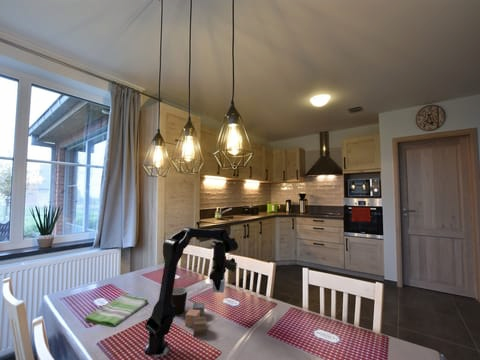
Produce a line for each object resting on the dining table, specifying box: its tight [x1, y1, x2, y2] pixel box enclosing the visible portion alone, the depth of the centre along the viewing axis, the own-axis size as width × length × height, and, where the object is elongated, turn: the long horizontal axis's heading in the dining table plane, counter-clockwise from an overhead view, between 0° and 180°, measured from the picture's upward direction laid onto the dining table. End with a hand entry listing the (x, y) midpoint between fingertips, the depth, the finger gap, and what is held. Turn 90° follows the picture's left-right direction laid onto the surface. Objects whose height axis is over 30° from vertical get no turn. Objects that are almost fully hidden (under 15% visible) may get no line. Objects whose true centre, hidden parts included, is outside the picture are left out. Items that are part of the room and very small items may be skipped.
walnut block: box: [192, 316, 207, 337], centre depth 96 cm, size 5×5×5 cm
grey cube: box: [212, 277, 226, 293], centre depth 109 cm, size 5×5×5 cm
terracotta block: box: [184, 308, 200, 328], centre depth 102 cm, size 5×5×5 cm
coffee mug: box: [172, 286, 188, 316], centre depth 114 cm, size 12×9×10 cm
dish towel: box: [84, 293, 149, 327], centre depth 112 cm, size 17×23×4 cm
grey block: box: [192, 301, 205, 317], centre depth 109 cm, size 5×5×5 cm
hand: (218, 287), depth 109 cm, fingers closed on grey cube, 5 cm apart
